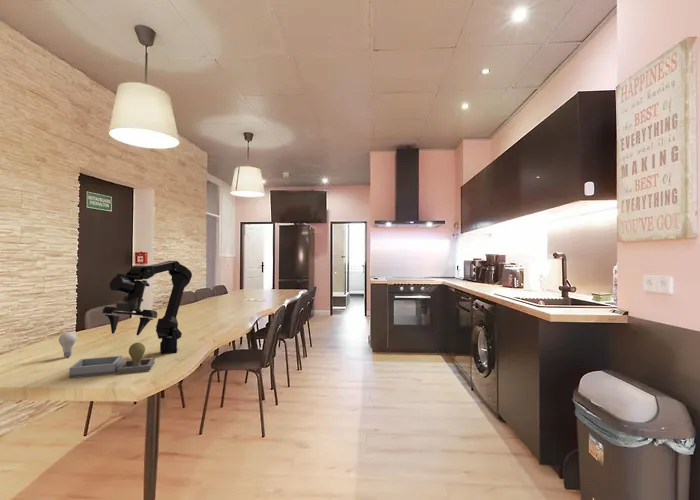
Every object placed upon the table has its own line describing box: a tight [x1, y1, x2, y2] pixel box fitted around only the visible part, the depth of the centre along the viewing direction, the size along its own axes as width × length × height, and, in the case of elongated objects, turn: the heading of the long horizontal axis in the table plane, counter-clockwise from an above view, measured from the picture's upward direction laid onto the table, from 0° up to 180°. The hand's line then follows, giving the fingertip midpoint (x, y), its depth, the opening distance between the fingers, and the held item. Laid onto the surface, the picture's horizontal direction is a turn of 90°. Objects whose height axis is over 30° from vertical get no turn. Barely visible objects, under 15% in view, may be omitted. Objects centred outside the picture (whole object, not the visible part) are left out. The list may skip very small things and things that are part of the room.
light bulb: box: [128, 342, 146, 367], centre depth 139 cm, size 6×6×10 cm
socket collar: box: [116, 357, 156, 375], centre depth 139 cm, size 11×11×2 cm
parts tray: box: [68, 355, 123, 379], centre depth 135 cm, size 14×12×4 cm
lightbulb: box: [58, 331, 78, 358], centre depth 152 cm, size 6×6×11 cm
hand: (125, 334), depth 139 cm, fingers open, 9 cm apart
